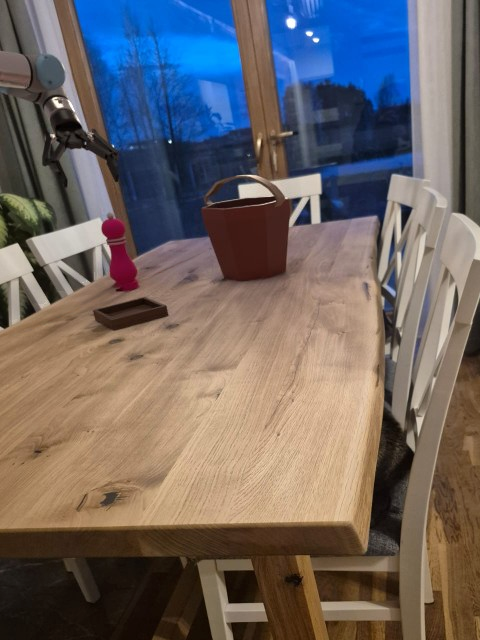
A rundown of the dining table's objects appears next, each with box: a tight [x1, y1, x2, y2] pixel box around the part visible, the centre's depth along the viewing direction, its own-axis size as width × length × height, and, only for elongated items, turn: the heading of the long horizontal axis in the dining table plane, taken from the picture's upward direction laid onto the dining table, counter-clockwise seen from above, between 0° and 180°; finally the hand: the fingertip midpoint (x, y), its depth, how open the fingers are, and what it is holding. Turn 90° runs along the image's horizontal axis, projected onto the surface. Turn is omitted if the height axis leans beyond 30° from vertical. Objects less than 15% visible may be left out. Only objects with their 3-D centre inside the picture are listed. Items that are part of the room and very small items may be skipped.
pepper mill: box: [100, 211, 140, 292], centre depth 153 cm, size 7×7×20 cm
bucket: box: [200, 174, 291, 282], centre depth 153 cm, size 24×22×25 cm
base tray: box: [92, 296, 169, 331], centre depth 130 cm, size 13×13×2 cm
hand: (92, 181), depth 153 cm, fingers open, 13 cm apart
